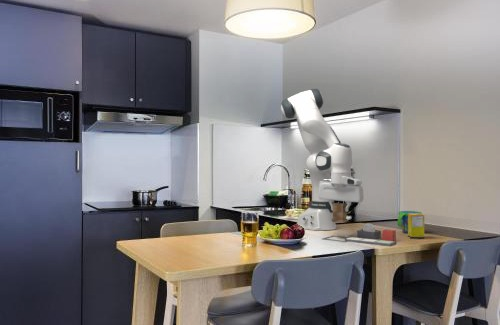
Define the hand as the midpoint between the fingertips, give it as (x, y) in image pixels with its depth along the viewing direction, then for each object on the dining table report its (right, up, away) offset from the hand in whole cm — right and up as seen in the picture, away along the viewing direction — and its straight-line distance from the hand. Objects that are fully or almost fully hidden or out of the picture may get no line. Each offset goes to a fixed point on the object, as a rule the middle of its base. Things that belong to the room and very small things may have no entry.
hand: (339, 211), depth 202 cm
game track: (+11, -12, -9) cm, 19 cm away
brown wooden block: (0, -5, 0) cm, 5 cm away
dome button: (+13, -11, +2) cm, 18 cm away
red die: (+21, -13, -4) cm, 25 cm away
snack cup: (+39, -13, +22) cm, 46 cm away
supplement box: (+36, -13, +5) cm, 38 cm away
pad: (0, -12, -1) cm, 12 cm away
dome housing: (+13, -13, +2) cm, 18 cm away
